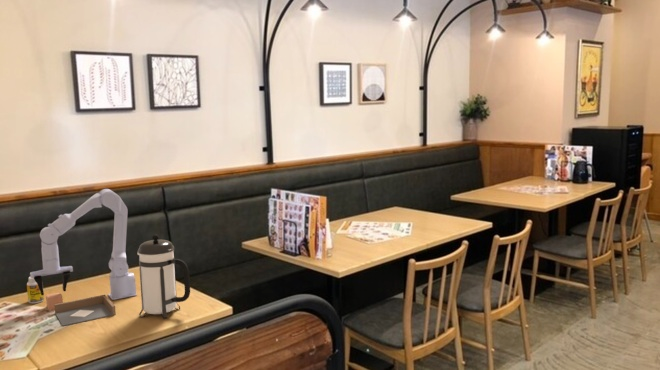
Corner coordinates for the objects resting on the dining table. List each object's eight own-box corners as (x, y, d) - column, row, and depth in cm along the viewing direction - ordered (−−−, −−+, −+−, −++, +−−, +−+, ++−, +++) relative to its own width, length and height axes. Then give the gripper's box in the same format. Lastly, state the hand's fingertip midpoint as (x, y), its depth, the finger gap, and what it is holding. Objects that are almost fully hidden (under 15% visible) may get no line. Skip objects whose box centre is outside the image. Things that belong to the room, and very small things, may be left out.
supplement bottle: (29, 305, 213) (26, 279, 212) (27, 301, 218) (25, 276, 217) (44, 302, 216) (42, 277, 215) (43, 298, 221) (41, 273, 220)
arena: (105, 302, 214) (104, 294, 214) (115, 314, 201) (115, 306, 201) (55, 313, 204) (54, 304, 204) (62, 326, 191) (61, 317, 191)
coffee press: (142, 324, 192) (137, 241, 188) (136, 310, 206) (131, 232, 202) (192, 315, 199) (187, 235, 195) (182, 302, 214) (178, 227, 209)
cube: (61, 304, 214) (59, 292, 213) (63, 308, 210) (62, 295, 209) (46, 307, 211) (45, 294, 210) (48, 310, 207) (47, 298, 206)
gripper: (69, 253, 215) (71, 286, 217) (27, 259, 207) (30, 293, 209) (72, 257, 209) (75, 291, 211) (30, 263, 201) (33, 298, 203)
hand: (53, 292), depth 209 cm, fingers open, 7 cm apart
